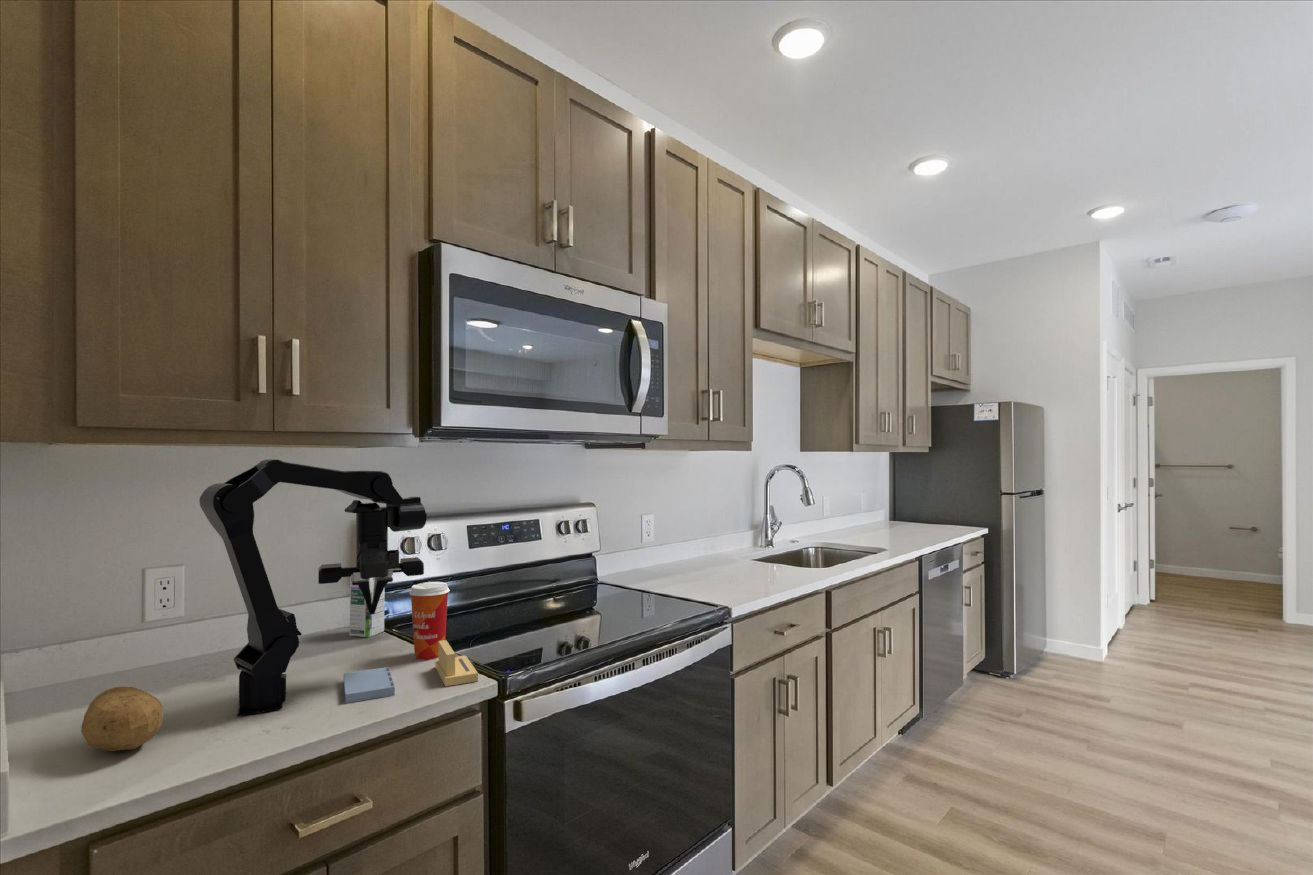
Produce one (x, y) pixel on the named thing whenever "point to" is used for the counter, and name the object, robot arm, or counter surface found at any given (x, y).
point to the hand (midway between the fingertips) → (371, 613)
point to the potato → (121, 719)
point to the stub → (454, 666)
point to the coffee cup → (429, 617)
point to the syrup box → (365, 612)
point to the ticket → (368, 684)
